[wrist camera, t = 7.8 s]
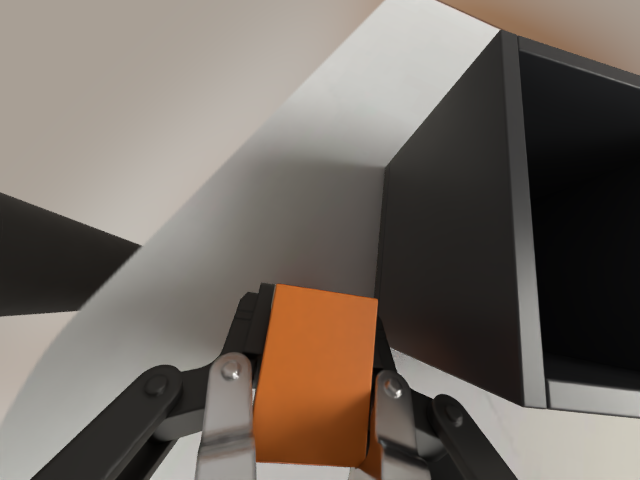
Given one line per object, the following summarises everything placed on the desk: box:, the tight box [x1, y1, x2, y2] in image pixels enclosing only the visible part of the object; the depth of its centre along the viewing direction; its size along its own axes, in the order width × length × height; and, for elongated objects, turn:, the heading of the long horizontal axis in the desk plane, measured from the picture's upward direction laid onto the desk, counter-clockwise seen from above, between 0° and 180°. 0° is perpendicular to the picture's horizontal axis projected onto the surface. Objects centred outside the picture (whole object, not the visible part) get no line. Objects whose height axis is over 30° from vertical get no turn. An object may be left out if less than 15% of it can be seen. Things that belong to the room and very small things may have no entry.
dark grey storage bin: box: [374, 30, 640, 419], centre depth 14 cm, size 14×14×11 cm
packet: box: [253, 284, 378, 468], centre depth 12 cm, size 4×5×9 cm
